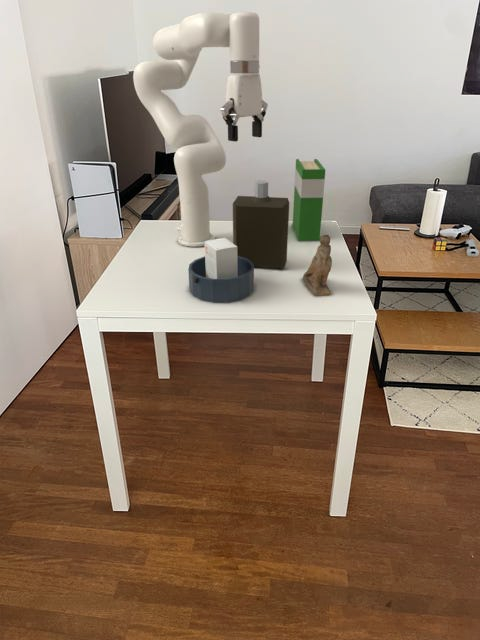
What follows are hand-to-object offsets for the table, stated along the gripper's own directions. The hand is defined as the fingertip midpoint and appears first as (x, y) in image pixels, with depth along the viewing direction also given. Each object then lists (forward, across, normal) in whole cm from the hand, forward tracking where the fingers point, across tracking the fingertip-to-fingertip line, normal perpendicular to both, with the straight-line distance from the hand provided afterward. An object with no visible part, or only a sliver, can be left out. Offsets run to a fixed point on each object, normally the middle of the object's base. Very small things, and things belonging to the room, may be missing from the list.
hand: (245, 138), depth 131 cm
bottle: (+36, -1, +5) cm, 37 cm away
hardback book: (+36, -34, -3) cm, 50 cm away
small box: (+36, +19, +8) cm, 42 cm away
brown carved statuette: (+37, 0, +27) cm, 45 cm away
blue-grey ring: (+36, +19, +8) cm, 42 cm away
